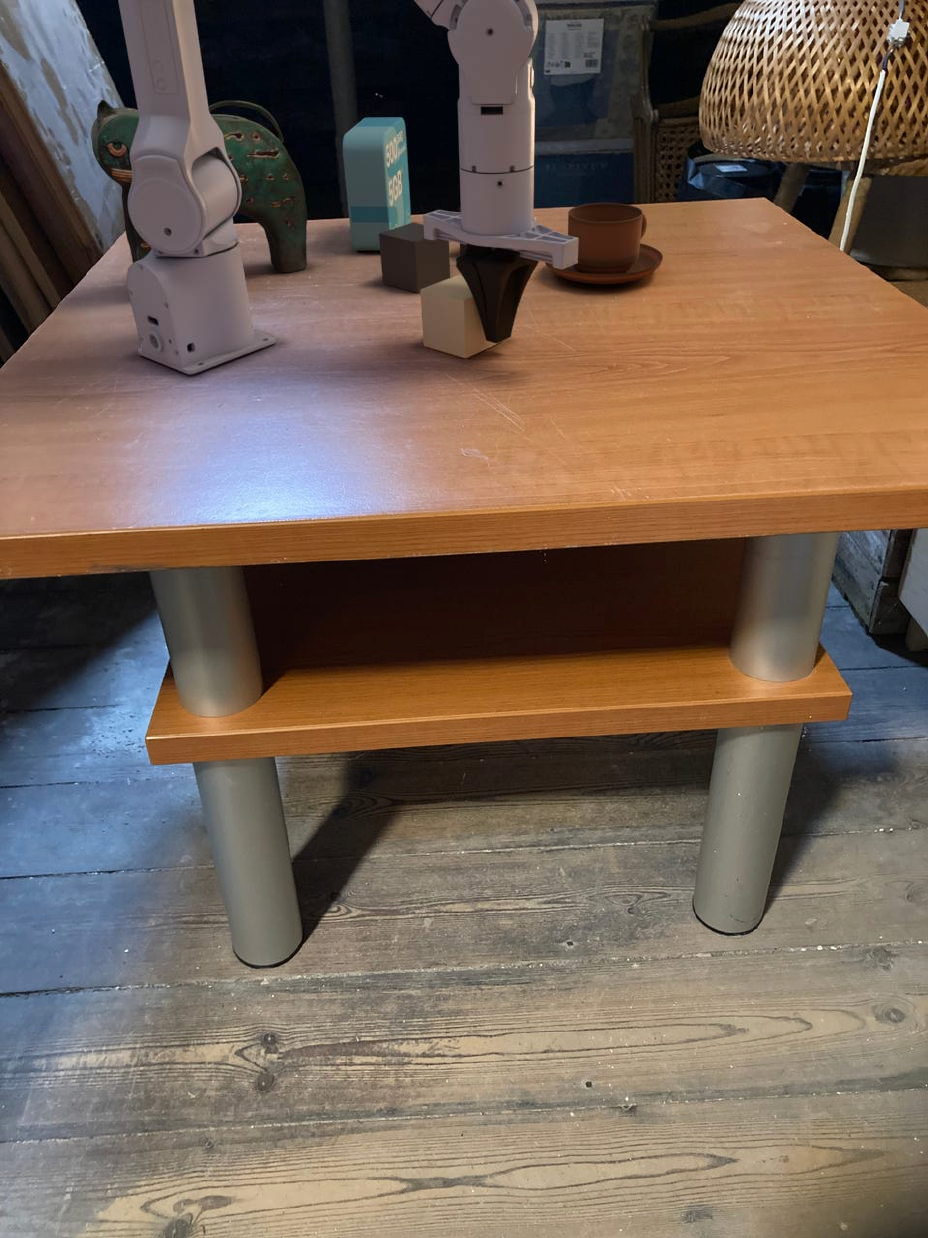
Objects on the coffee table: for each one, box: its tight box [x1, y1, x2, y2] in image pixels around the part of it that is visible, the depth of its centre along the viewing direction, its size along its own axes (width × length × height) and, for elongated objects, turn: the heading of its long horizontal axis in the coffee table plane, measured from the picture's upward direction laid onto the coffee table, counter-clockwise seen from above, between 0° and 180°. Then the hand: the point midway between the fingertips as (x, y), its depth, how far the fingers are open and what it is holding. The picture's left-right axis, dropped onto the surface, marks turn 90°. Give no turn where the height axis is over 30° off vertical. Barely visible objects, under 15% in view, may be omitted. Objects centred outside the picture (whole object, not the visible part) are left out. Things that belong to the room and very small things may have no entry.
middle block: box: [379, 222, 451, 294], centre depth 98 cm, size 5×5×5 cm
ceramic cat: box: [90, 98, 308, 273], centre depth 95 cm, size 20×6×20 cm, turn 121°
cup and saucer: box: [544, 202, 664, 285], centre depth 97 cm, size 12×12×6 cm
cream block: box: [419, 274, 503, 359], centre depth 83 cm, size 5×5×5 cm
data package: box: [342, 116, 412, 252], centre depth 108 cm, size 12×4×12 cm, turn 172°
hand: (498, 338), depth 82 cm, fingers closed
